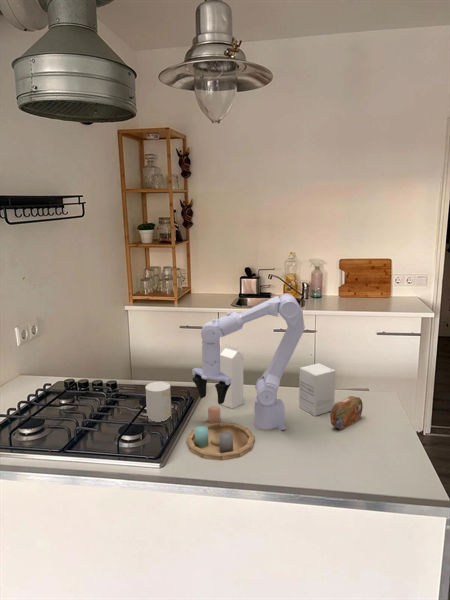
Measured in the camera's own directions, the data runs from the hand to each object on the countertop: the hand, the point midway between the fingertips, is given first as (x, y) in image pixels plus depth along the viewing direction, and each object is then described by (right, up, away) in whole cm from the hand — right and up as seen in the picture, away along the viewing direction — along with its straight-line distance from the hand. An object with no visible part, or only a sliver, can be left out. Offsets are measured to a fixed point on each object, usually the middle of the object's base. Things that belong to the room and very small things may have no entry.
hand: (211, 400), depth 150 cm
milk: (+7, -6, +19) cm, 21 cm away
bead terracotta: (+1, -9, +5) cm, 10 cm away
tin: (+44, -9, +4) cm, 45 cm away
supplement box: (+36, -6, +15) cm, 40 cm away
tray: (+3, -12, -9) cm, 15 cm away
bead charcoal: (+5, -12, -14) cm, 19 cm away
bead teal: (-3, -11, -11) cm, 15 cm away
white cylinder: (-18, -8, +7) cm, 21 cm away
